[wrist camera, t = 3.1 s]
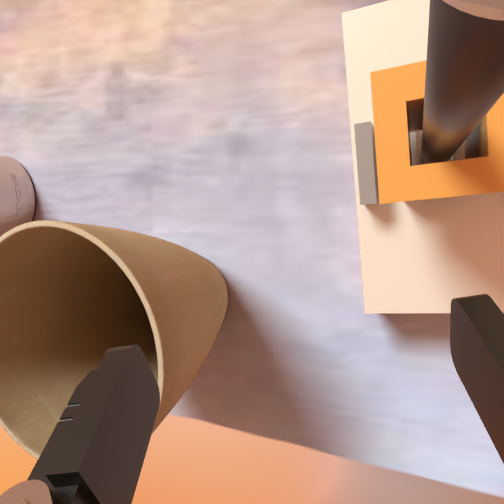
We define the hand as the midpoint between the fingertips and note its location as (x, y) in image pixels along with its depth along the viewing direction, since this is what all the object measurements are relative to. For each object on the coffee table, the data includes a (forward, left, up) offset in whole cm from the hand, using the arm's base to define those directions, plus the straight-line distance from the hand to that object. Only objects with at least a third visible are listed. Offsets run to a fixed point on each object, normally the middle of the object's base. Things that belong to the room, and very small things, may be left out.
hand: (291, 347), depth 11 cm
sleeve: (+4, +6, -15) cm, 17 cm away
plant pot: (-17, -3, -23) cm, 29 cm away
